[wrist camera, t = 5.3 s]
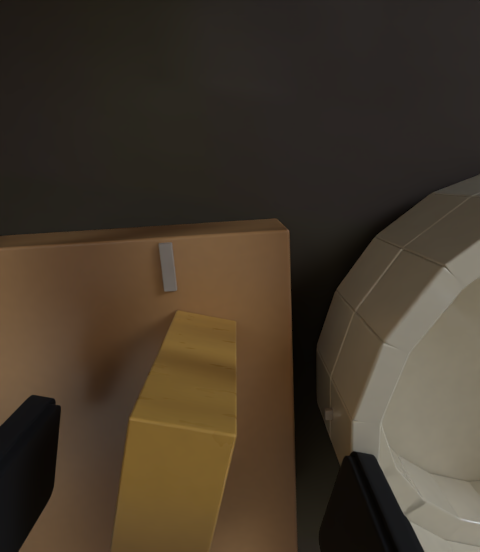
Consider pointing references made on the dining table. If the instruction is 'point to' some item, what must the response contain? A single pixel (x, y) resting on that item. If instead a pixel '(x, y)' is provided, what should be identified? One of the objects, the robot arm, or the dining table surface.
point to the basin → (413, 364)
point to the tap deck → (150, 363)
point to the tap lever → (179, 441)
